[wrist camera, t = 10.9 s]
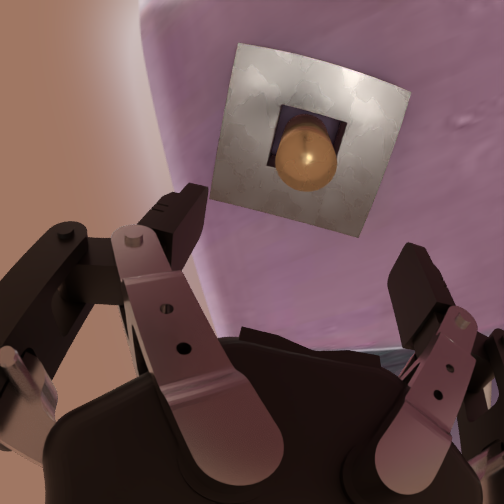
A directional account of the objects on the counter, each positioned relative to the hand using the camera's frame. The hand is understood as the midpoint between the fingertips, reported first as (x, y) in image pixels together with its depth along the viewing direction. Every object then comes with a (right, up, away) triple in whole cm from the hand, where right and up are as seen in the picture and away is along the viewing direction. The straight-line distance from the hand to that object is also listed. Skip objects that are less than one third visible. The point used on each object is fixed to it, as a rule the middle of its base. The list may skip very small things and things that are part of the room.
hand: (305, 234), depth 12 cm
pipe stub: (+3, +10, +15) cm, 18 cm away
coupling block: (+3, +10, +15) cm, 18 cm away
